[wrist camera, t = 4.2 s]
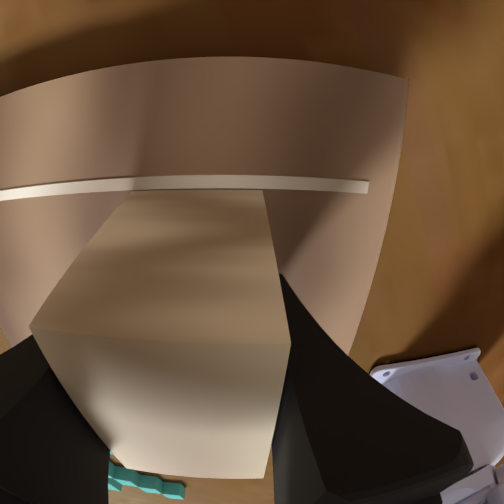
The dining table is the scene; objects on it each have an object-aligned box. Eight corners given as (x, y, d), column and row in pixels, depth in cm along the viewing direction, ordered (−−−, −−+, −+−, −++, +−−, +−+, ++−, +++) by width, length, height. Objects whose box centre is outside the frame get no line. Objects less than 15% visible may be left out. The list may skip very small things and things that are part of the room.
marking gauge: (262, 190, 9) (291, 343, 4) (252, 385, 14) (257, 501, 9) (132, 190, 9) (28, 326, 4) (169, 382, 14) (153, 495, 9)
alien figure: (120, 411, 20) (-26, 382, 20) (114, 435, 18) (-34, 397, 18) (185, 484, 30) (60, 463, 30) (184, 499, 28) (57, 475, 28)
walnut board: (382, 78, 9) (409, 79, 7) (322, 378, 17) (328, 406, 15) (-34, 115, 8) (-63, 125, 6) (46, 362, 16) (35, 385, 15)
